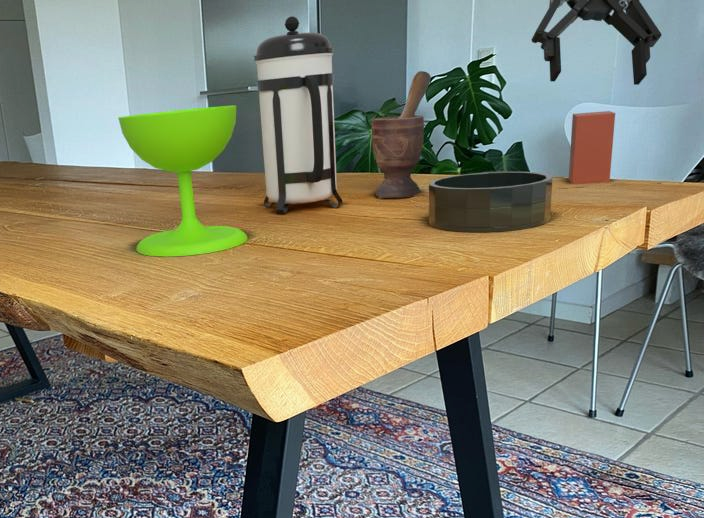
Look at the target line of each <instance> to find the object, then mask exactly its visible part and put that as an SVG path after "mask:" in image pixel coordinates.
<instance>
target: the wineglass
mask: <svg viewBox="0 0 704 518" xmlns="http://www.w3.org/2000/svg"><path fill="white" fill-rule="evenodd" d="M117 118H118V121H119V125H120V129H121V134H122V135H123V137H124V139H125V141H126V142H127V144H128V146H129V148H130V149H131V150H132V151H133V153H135V154H136V156H137V157H139V158H140V159H141V160H142V161H143V162H144V163H146V164H148V165H150V166H151V167H152V168H155V169H158V170H161V171H165V172H168V173H176V175H177V183H178V184H177V185H178V192H179V200H180V201H179V202H180V208H181V209H180V210H181V220H180V223H179V225H178V226H177V228H175V229H168V230H164V231H160V232H157V233H153V234H150V235H148V236H146V237H144V238H142V239H141V240H140V241H139V242H138V244H137V245H136V252H137V253H138V254H140V255H145V256H150V257H162V258H163V257H185V256H197V255H203V254H205V255H206V254H210V253H215V252H221V251H226V250H228V249H233V248H236V247H238V246H241V245H243V244H245V243H246V242H247V241H248V235H247V234H246V233H245V232H244V231H243V230H242V229H240V228H237V227H232V226H226V225H204V224H202V223H201V222H200V221H199V219H198V218H197V215H196V214H197V213H196V205H195V198H194V197H195V196H194V187H193V178H192V171H198V170H199V169H201V168H203V167H205V166H207V165H208V164H211V163H212V162H213V161H214V160H215V159H216V158H217V157H219V155H221V154H222V153H223V151H224V150H225V148H226V147H227V146H228V143H229V142H230V140H231V138H232V137H233V132H234V129H235V126H236V122H237V105H221V106H209V107H197V108H186V109H178V110H176V109H175V110H167V111H158V112H150V113H149V112H148V113H140V114H133V115H132V114H131V115H125V116H124V115H123V116H119V117H117Z"/></svg>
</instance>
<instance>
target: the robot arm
mask: <svg viewBox="0 0 704 518" xmlns="http://www.w3.org/2000/svg"><path fill="white" fill-rule="evenodd" d="M564 3H566V4H567V6H568V7H569V8H570V10H569V11H568V12H567V13H566V14H565V15H564V16H563V17H562V18H561V19H560V20H559V21H558V22H557V23H556V24H555V25H554V26H553V27H552V28H551V29H550V30H549V31H546V29H547V27H548V25H549V24H550V22H551V20H552V18H553V17H554V15H555V13H556V11H557V10H558V8H560V7H562V6H563V5H564ZM611 13H612V14H611ZM578 18H579V19H582V21H591V20H592V21H595V22H602V21H603V22H604V23H605V24H606V25H608V26H612V28H614V29H615V30H616V31H617V32H619V34H621V36H623V37H624V38H625V39H626V41H628V42H629V43H630V44H631V45H632V46H633V48H632V50H631V63H632V78H633V79H632V80H633V86H636V85H637V86H638V85H640V84H641V82H643V80H644V79H645V78H646V76H647V73H648V72H647V63H648V62H649V61H650V58H651V48H653V47H655V45H656V44H657V43H658V41H659V40H660V39H661V38H662V32H661V31H660V30H659V28H658V26H657V25H656V24H655V22H654V20H653V19H652V17H651V16H650V14H649V13H648V12H647V10H646V8H645V7H644V6H643V4H642V2H641V1H640V0H549V6H548V9H547V11H546V13H544V16H543V18H542V19H541V21H540V23H539V24H538V26H537V28H536V29H535V32H534V33H533V36H532V37H531V42H532V43H533V44H537V43H540V49H541V50H543V60H544V61H545V62H549V82H556V80H557V79H558V77H559V75H560V74H561V73H562V58H561V57H562V56H561V55H562V54H561V37H560V35H562V34H563V32H565V31H566V29H567V28H569V27H570V26H571V25H572V24H573V23H574V22H575V21H576V20H577V19H578Z"/></svg>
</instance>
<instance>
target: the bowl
mask: <svg viewBox="0 0 704 518" xmlns="http://www.w3.org/2000/svg"><path fill="white" fill-rule="evenodd" d="M552 194H553V177H552V175H551V174H548V173H547V174H546V173H543V172H533V171H489V172H488V171H487V172H475V173H466V174H458V175H451V176H445V177H441V178H437V179H434V180H432V181H431V180H430V181H429V183H428V221H429V225H430V226H431V227H432V228H434V229H438V230H442V231H449V232H459V233H498V232H499V233H501V232H511V231H521V230H525V229H530V228H535V227H539V226H543V225H545V224H547V223H548V222H549V221H550V219H551V214H552V213H551V212H552Z"/></svg>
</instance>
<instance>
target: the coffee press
mask: <svg viewBox="0 0 704 518" xmlns="http://www.w3.org/2000/svg"><path fill="white" fill-rule="evenodd" d="M299 26H300V22H299V19H298V17H296V16H292V15H291V16H288V18H287V19H286V20H285V22H284V27H285V29H286V30H287V32H286V34H281V35H276V36H272V37H271V36H270V37H268V38H266V39H264V40H263V41H261V42H260V43H259V44H258V46H257V48H256V55H253V61H254V62H255V65H256V70H257V80H256V89H257V92H258V99H259V111H260V112H259V113H260V125H261V138H262V152H263V165H264V166H263V167H264V180H265V191H266V196H265V198H264V200H263V205H264V207H265V208H270V207H273V206H275V205H276V207H275V208H276V209H275V212H276V214H277V215H287V214H288V211H289V209H290V207H291V206H292V205H294V204H307V203H314V202H326V203H328V204H329V205H330V206H331V208H333V209H337V208H340V207H342V205H343V203H344V202H343V199H342V197H341V196H340V194H339V192H338V191H337V186H338V185H337V157H336V156H337V155H336V154H337V153H336V134H335V133H336V131H335V108H334V107H335V105H334V87H333V86H334V84H335V74H334V72H333V56H334V53H335V48H334V47H333V46H331V45H332V44H331V42H330V40H329V38H328V37H327V36H325V35H324V34H322V33H319V32H299V31H297V30H298V28H299ZM331 197H334V198H335V200H336V201H337V203H338V204H336V202H335V201H333V200H332V199H330V198H331ZM269 201H271V204H270V203H269Z"/></svg>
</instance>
